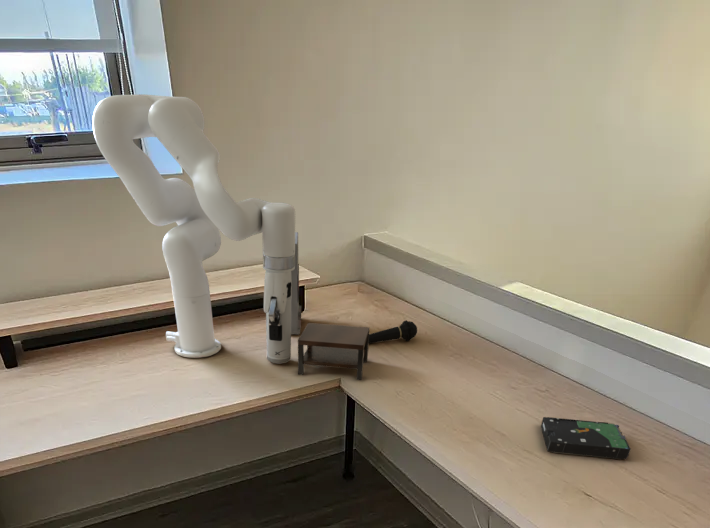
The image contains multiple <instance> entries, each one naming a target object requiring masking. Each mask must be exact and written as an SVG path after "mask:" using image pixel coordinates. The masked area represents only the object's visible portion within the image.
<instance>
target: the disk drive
mask: <svg viewBox="0 0 710 528" xmlns="http://www.w3.org/2000/svg"><path fill="white" fill-rule="evenodd" d="M540 428H541V432H542V436H543V441H544V443H545V448H546V451H547V452H551V453H556V454H566V455H576V456H588V457H596V458H605V459H613V460H614V459H616V460H628V457H629V455H630V453H631V449H632V448H631V447H630V445H629V442H628V441H627V437H626V436H625V435H624V434H623V432H622V429H621V428H620V425H619V424H615V423H610V422H605V421H592V420H582V419H573V418H572V419H571V418H562V417H561V418H559V417H551V416H543V417H542V420H541V424H540Z"/></svg>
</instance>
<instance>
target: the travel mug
mask: <svg viewBox="0 0 710 528" xmlns="http://www.w3.org/2000/svg"><path fill="white" fill-rule="evenodd" d="M287 288H288V290H287V299H286V300H287V301H286V308H285V312H284V313H283V314H282V317H281V325H282V341H274V340H270V339H269V316H268V315H269V311H268V312H267V313H265V332H266V333H265V334H266V338H265V341H266V360H267V361H268V362H270V363H271V364H286V363H288V362H289V361H291V357H292V334H291V282H290V283H288V284H287ZM269 309H270V308H269ZM279 311H280V310H279V309H276V311H275V312H279ZM275 317H277V319H278V315H275Z"/></svg>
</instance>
